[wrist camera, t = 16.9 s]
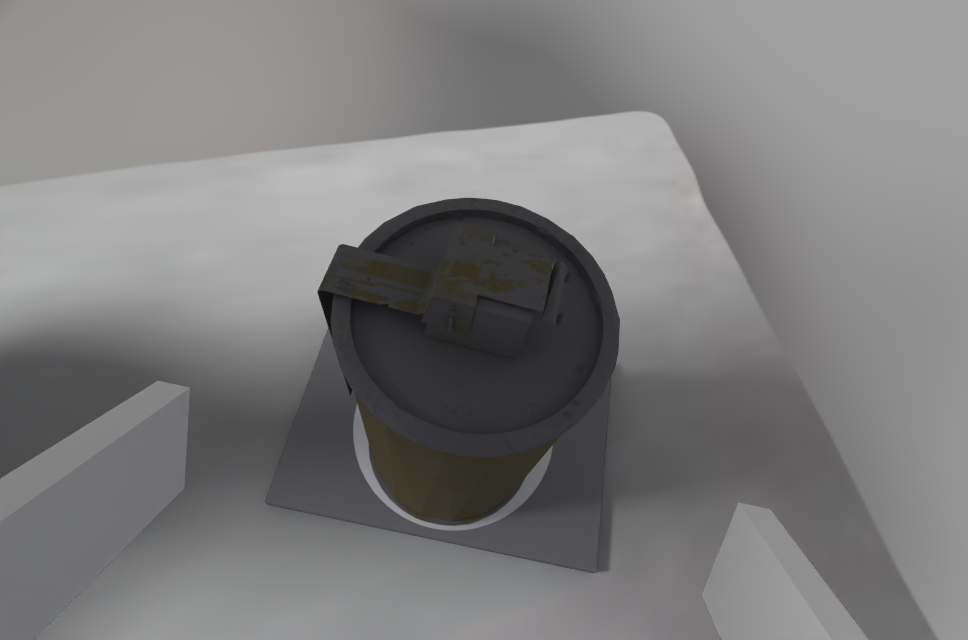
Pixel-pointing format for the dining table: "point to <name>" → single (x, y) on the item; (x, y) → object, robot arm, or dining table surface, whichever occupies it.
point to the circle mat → (359, 499)
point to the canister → (468, 349)
